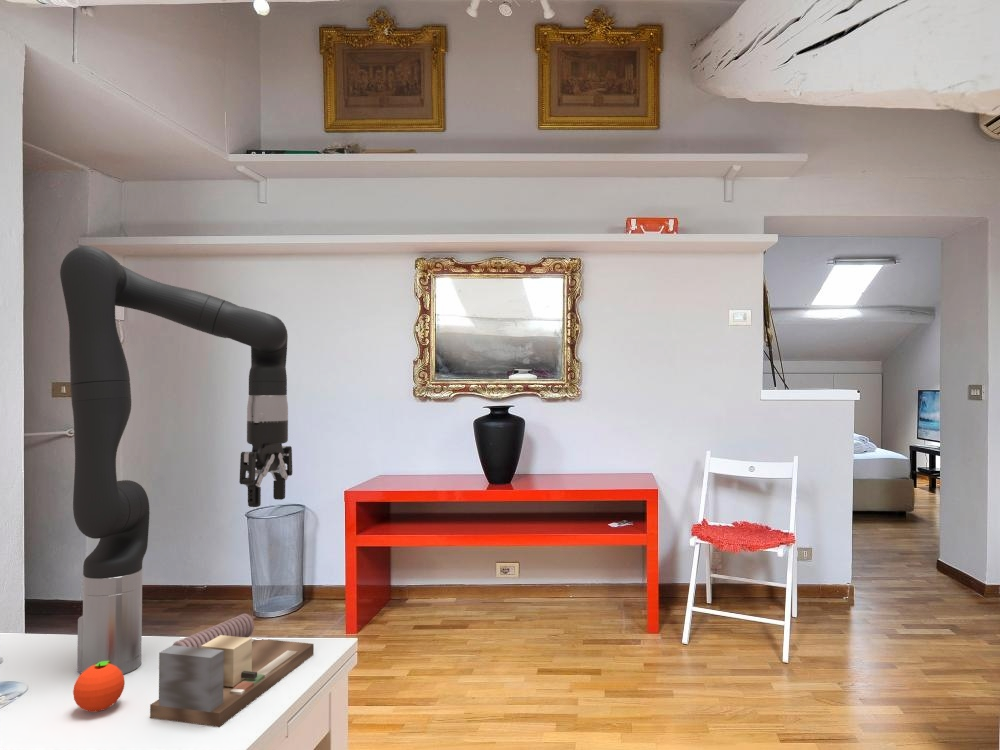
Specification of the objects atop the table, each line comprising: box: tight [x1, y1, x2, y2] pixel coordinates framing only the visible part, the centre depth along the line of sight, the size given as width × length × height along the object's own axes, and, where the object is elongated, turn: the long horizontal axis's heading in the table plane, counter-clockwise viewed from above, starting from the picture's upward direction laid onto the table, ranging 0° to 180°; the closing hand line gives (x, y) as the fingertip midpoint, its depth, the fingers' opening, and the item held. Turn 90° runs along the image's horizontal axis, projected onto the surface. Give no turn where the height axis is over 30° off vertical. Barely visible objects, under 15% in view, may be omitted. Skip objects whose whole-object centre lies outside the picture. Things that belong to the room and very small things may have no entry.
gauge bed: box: [149, 638, 315, 728], centre depth 115 cm, size 12×28×10 cm, turn 167°
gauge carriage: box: [201, 635, 257, 687], centre depth 109 cm, size 8×8×6 cm
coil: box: [171, 613, 255, 648], centre depth 129 cm, size 5×5×18 cm
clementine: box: [72, 661, 125, 713], centre depth 106 cm, size 8×7×7 cm
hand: (267, 502), depth 130 cm, fingers open, 8 cm apart
